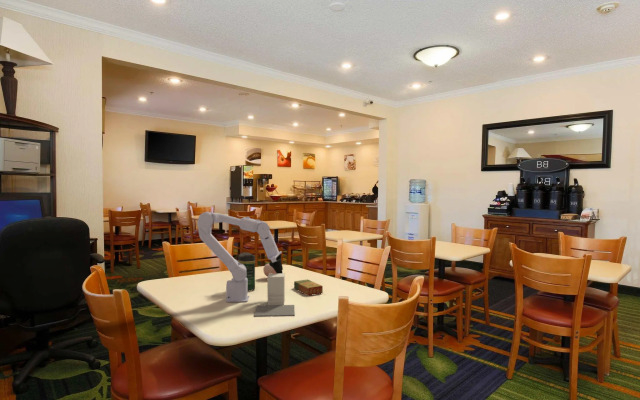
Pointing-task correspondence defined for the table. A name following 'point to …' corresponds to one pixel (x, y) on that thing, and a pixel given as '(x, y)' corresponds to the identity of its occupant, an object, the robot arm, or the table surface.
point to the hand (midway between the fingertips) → (280, 272)
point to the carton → (308, 287)
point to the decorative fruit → (268, 269)
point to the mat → (274, 310)
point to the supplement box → (276, 288)
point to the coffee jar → (248, 268)
